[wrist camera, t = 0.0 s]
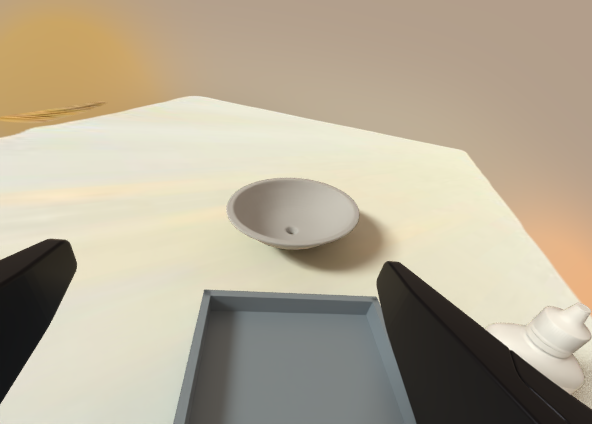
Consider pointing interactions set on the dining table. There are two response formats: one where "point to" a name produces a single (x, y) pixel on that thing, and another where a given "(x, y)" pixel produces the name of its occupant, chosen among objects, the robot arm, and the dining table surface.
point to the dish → (292, 212)
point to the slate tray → (291, 362)
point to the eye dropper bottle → (550, 343)
